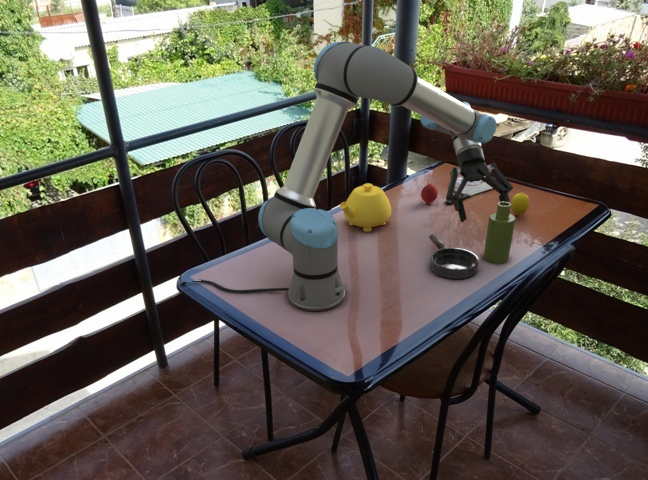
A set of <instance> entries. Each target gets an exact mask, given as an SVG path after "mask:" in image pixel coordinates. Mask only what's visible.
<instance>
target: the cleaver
mask: <svg viewBox="0 0 648 480" xmlns="http://www.w3.org/2000/svg"><path fill="white" fill-rule="evenodd" d="M457 189H458V188H454V192H456V191H457ZM490 190H494V189H493V188H492V187H491V186H489V185H488V184H487V183H485V182H483V183H482V184H481V185H477V186H465V187H464V189H463V191H462V193H461V194H462V195H460V196H459V198H462V201H463V200H465V199H467V198H470V197H473V196H475V195H478V194H481V193H484V192H487V191H490ZM445 204H447V205H452V204H453V205H454V203H452V202H451V200H446V199H445Z"/></svg>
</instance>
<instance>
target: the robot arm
mask: <svg viewBox="0 0 648 480" xmlns="http://www.w3.org/2000/svg"><path fill="white" fill-rule="evenodd" d="M313 64H314V65H313V73H314V79H315V81H316V83H315V85H314V88H313V91H314V93H315V95H316V96H315V97H316V100H315V102H314V104H313V107H312V110H311V113H310V115H309V117H308V121H307V123H306V126H305V129H304V130H303V131H304V132H303V134H302V137H301V139H300V141H299V144H298V147H297V149H296V152H295V155H294V158H293V160H292V162H291V166H290V169H289V171H288V173H287V176H286V179H285V181H284V184H283V186H282V187H279V188H278V189H275V192H274V194H273V196H272V197H269V198H268V200H265V201H264V202H263V204H262V205H261V207H260V209H259V212H258V220H257V221H258V226H259V228H260V231H261V232H262V233H263V234H264V236H266V237H267V239H268V240H270V241H271V242H272V243H275V244H276V245H278V246H279V247H281V248H282V249H283V250H285V251H286V252H288V253H290V254H291V256H292V268H293V269H292V270H293V272H292V276H291V279H290V283H289V285H288V287H273V288H272V287H271V288H253V289H233V288H232V289H231V288H227V287H224V286H222V285H220V284H218V283H216V282H214V281H211V280H206V279H200V280H201V281H192V282H191V283H202V284H203V283H204V284H209V285H212V286H214V287H216V288H218V289H220V290H222V291H224V292H228V293H236V294H244V293H245V294H246V293H260V292H261V293H262V292H283V291H284V292H286V291H288V292H287V294H288V295H287V296H288V298H287V299H288V301H289V303H290V304H292V306H293V307H295V308H297V309H299V310H302V311H306V312H323V311H328V310H332V309H335V308H336V307H339V306H340V305H341V304H342V303H343V302H344V300H345V296H346V291H345V290H347V287H348V285H347V284H348V283H345V284H344V283H343V280H342V278H341V275H340V273H339V269H338V268H339V267H338V266H339V265H338V264H339V263H338V253H339V252H338V251H339V250H338V249H339V248H338V243H339V242H338V241H339V240H338V238H339V231H338V226H337V224H338V223H337V220H336V218H335V216H333V214H332V213H330V212H328V211H327V210H325V209H321V208H319V209H317V205H316V202H315V200H314V199H315V198H314V197H315V194H316V192H317V189H318V187H319V185H320V182H321V179H322V177H323V174H324V172H325V169H326V167H327V164H328V161H329V159H330V156H331V154H332V151H333V149H334V147H335V144H336V142H337V139H338V136H339V134H340V131H341V129H342V126H343V124H344V122H345V119H346V116H347V114H348V111H350V110H352V109H354V108H356V107H357V105H358V102H359V99H360V98H362V99H363V98H364V99H369V100H375V101H378V102H382V103H386V104H388V105H390V106H392V107H404V108H406V109H407V110H409V111H412V112H413V113H416V114H418V115H419V116H420V117H419V119H420V124H421V125H422V126H423V127H424V128H426V129H428V130H430V131H436V132H440V133H442V134H447V135H450V137H451V140H452V144H453V149H454V151H455V152H454V153H455V155H456V161H457V164H458V167H459V168H457V167H455V166H453V168H451V170H450V180H449V182H448V183H449V184H448V188H447V191H446V195H445V201H446V200H451V202H452V203H453V207H454V210H455V212H457V213H458V216H459V221H460V223H464V222H465V221H466V220H467V219H468V217H467V213H466V209H465V206H464V202H463V200H462V198H459V197H460V196H461V194H462V191H463V189H464V187H465V185H466V184H468V182H469V183H471V182H474V181H477V182H478V181H480V180H481V181H483V182H485V183H487V184H488V185H489V186H491V187H492V188H493V189H492V190H494V191H495V192H497V193H498V194H499V195H498V199H499V202H509V203H510V204H511V200H510V196H509V193H511V191H512V190H514V187H513V185H512V184H511V183H510V181H509V180H508V178H506V177H505V176H504V174H503V173H502V172H501V171H500V169H499V168H498V166H497V162H492V163H491V164H488V165H487V164H486V162H485V160H486V159H485V156H484V151H483V148H482V144H486V143H488V142H490V141H491V140H492V139H493V137H494V135H495V134H496V131H497V126H498V125H497V120H496V118H495V117H493V115H492V116H491V115H488V114H486V113H481V112H479V111H477V110H475V109H473V108H471V105H470V103H469V102H467V101H460V100H458V99H457V98H455V97H453V96H451V95H450V94H448V93H446V92H445V91H443V90H442V89H440V88H438V87H436V86H435V85H433V84H431V83H430V82H428V81H426V80H424V79H423V78H421V77H419V75H418V72H417V71H416V69H414V68H413V67H412V66H410V65H408V64H407V63H406V62H404V61H402V60H401V59H399V58H397V57H396V56H394V54H393V55H392V54H391V53H389V52H388V51H386V50H384V49H382V48H380V47H376V46H373V45H367V44H366V45H365V44H360V43H355V42H350V41H333V42H330V43H329V44H327V45H326V46H324V47H323V48H322V49H321V50H320V51H319V53H318V55H317V56H316V58H315V61H314V63H313ZM459 175H461V177H463V178H462V179H461V182H460V184H459V186H458V188H456V184H457V181H458V180H457V179H458V176H459ZM455 189H457V191H454V190H455ZM454 192H455V193H454ZM188 283H189V282H184V281H182V282H181V283H180V284H179V286H181V287H183V286H184V285H186V284H188Z"/></svg>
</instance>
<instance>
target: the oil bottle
mask: <svg viewBox="0 0 648 480" xmlns="http://www.w3.org/2000/svg"><path fill="white" fill-rule="evenodd" d="M515 223H516V217H515V216H514V215H513V214H511V202H510V203H509V202H500V201H499V202H497V207H496V212H493V213H490V215H489V216H488V222H487V229H486V235H485V243H484V249H483V256H482V257H483V259H484V261H486V262H487V263H490V264H492V265H493V264H495V265H502V264H506V263H507V262H508V261H509V259H510V252H511V246H512V241H513V236H514V229H515Z"/></svg>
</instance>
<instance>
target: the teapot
mask: <svg viewBox="0 0 648 480" xmlns="http://www.w3.org/2000/svg"><path fill="white" fill-rule="evenodd" d="M339 208H340V209H341V211H342V212H343V217H344V218H345V219H346V220H347V222H348V225H349V226H356V227H361V228H362V230H363V232H371V231H372V229H373V228H374V227H378V226H384V225H386V224H387V223H386V222H387V221H388V220H389V219H390V218H391V216H392V207H391V202H390V200H389V198H388V196H387V194H386V193H385V192H384V190H383V189H382V188H381V187H379V186H376V185H373V183H369V182H367V183H364V184H362V185H359V186H357V187H355V188H354V189H353V190H352V191H351V193H350V194H349V195H348V198H347V199H346V201H343V202H341V203H340V204H339ZM372 227H373V228H372Z"/></svg>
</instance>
